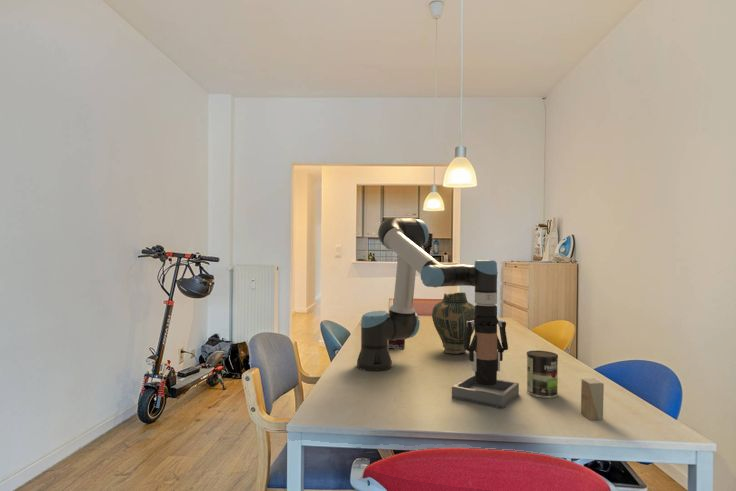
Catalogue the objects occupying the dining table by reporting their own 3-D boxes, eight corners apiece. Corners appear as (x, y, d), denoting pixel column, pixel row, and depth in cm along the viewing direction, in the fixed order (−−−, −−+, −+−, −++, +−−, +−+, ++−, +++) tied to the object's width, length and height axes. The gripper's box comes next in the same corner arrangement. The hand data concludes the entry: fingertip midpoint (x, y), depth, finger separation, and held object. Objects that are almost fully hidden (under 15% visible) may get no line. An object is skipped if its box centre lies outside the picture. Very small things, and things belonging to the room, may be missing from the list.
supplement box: (388, 348, 223) (388, 317, 223) (388, 346, 228) (388, 316, 228) (405, 349, 222) (405, 318, 222) (405, 347, 227) (405, 316, 227)
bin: (451, 398, 149) (451, 386, 149) (471, 385, 164) (471, 374, 164) (502, 409, 139) (502, 396, 139) (518, 394, 153) (518, 383, 153)
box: (580, 414, 135) (580, 378, 136) (593, 413, 136) (593, 377, 136) (590, 420, 130) (590, 383, 130) (604, 420, 131) (604, 382, 131)
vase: (482, 358, 205) (482, 294, 205) (435, 357, 205) (435, 293, 206) (472, 347, 227) (472, 289, 228) (429, 347, 227) (429, 289, 228)
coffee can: (564, 395, 153) (564, 355, 153) (543, 400, 148) (543, 358, 148) (540, 387, 162) (540, 349, 162) (520, 391, 157) (520, 351, 157)
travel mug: (482, 386, 146) (482, 327, 147) (470, 380, 154) (470, 323, 154) (502, 384, 149) (501, 325, 149) (489, 378, 156) (488, 322, 156)
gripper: (460, 306, 147) (459, 374, 147) (519, 305, 149) (519, 373, 148) (453, 303, 155) (453, 368, 154) (510, 303, 156) (510, 367, 156)
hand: (485, 370), depth 151 cm, fingers closed on travel mug, 8 cm apart
